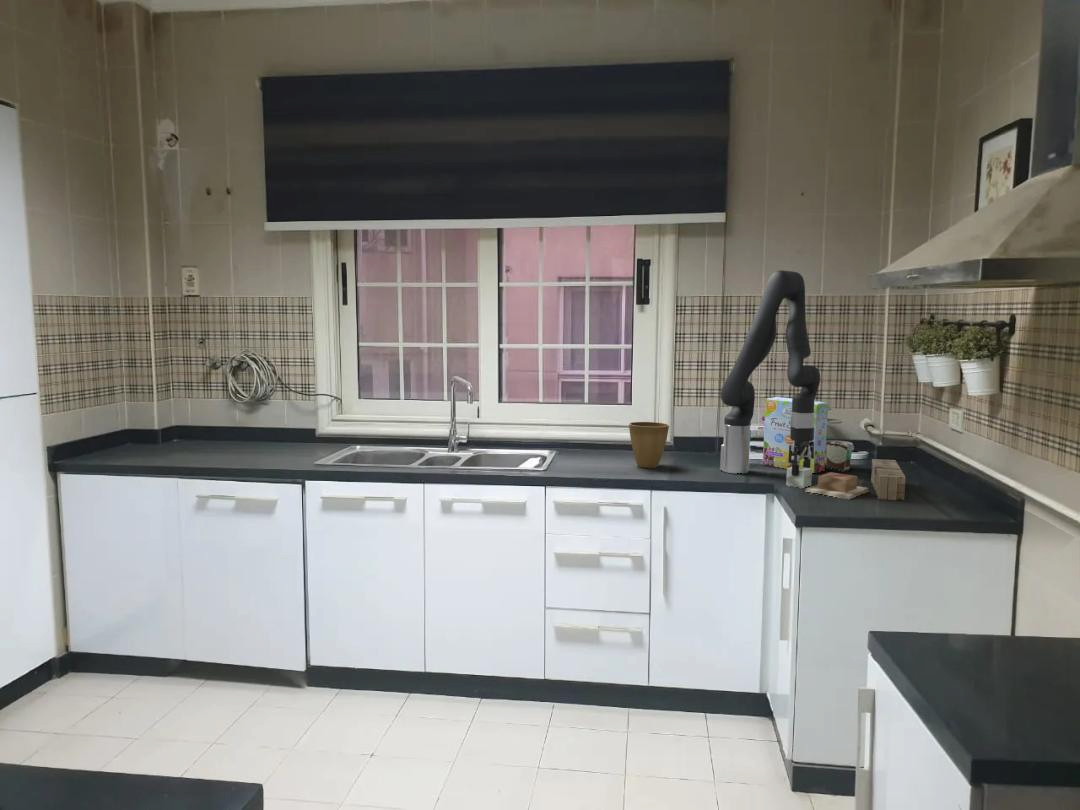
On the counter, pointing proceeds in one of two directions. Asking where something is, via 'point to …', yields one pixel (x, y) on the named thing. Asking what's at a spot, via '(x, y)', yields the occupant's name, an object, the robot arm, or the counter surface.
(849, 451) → the food container
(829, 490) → the base board
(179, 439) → the counter surface
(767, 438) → the snack box
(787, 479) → the sage cube
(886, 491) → the block tower
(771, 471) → the counter surface
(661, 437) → the plant pot
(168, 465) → the counter surface
